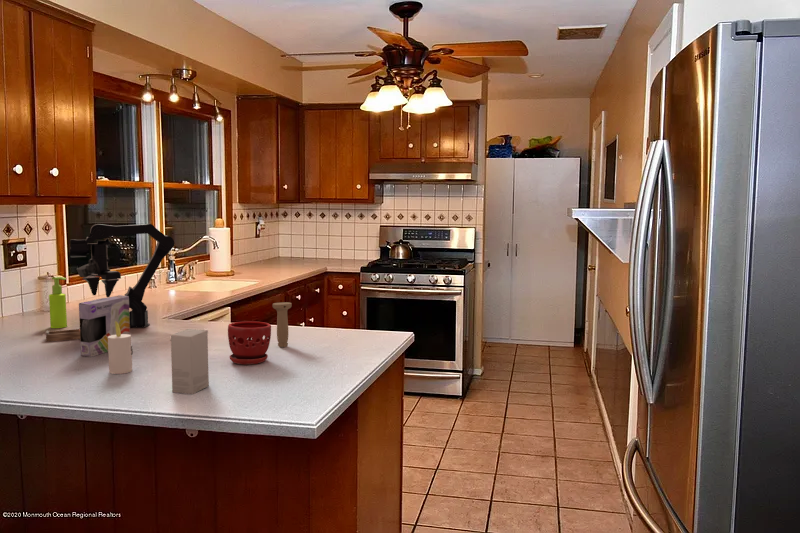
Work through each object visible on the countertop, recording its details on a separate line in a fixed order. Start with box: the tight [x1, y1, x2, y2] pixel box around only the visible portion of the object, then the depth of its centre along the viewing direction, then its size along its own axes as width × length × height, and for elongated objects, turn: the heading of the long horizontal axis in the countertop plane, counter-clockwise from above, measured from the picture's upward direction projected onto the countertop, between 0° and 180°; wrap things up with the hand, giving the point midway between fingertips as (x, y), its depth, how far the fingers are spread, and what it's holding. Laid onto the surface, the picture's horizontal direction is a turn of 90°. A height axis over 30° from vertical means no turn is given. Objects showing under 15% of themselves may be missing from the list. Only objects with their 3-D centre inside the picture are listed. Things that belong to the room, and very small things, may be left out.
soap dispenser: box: [48, 276, 68, 329], centre depth 268 cm, size 6×7×20 cm
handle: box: [272, 301, 292, 348], centre depth 232 cm, size 5×6×15 cm
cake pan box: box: [78, 294, 131, 358], centre depth 225 cm, size 19×5×18 cm, turn 160°
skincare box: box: [170, 328, 210, 395], centre depth 178 cm, size 8×7×16 cm
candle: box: [107, 321, 133, 375], centre depth 198 cm, size 6×6×15 cm
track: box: [45, 328, 80, 343], centre depth 247 cm, size 16×7×4 cm, turn 116°
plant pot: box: [227, 321, 272, 366], centre depth 210 cm, size 13×13×12 cm
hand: (101, 296), depth 264 cm, fingers open, 9 cm apart
